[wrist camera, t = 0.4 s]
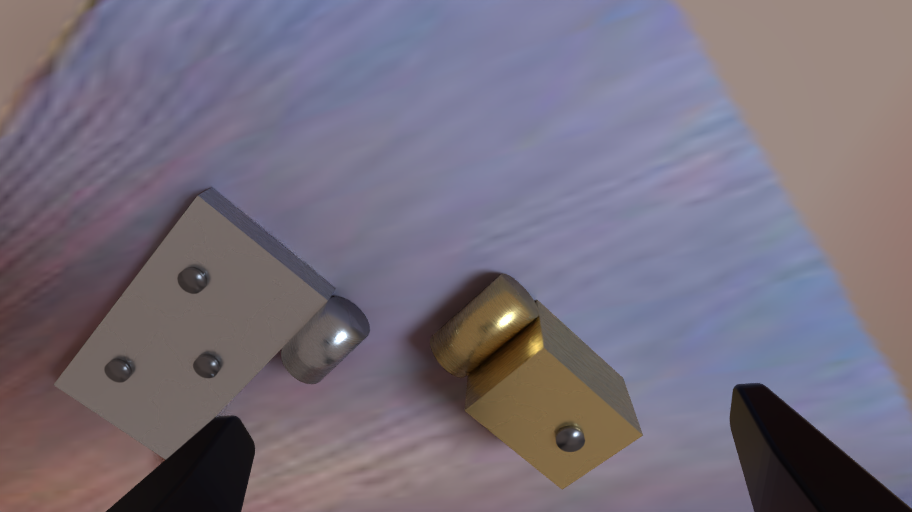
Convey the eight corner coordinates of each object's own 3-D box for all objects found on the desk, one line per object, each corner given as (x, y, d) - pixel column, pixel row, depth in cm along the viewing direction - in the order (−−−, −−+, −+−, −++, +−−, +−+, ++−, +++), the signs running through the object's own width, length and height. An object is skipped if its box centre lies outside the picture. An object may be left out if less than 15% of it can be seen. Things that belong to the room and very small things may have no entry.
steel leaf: (218, 470, 31) (196, 505, 28) (70, 370, 28) (34, 400, 26) (374, 320, 26) (363, 348, 24) (211, 187, 24) (182, 204, 22)
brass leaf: (553, 427, 28) (562, 494, 24) (433, 325, 26) (421, 380, 22) (622, 377, 26) (644, 439, 22) (500, 265, 24) (500, 312, 20)
